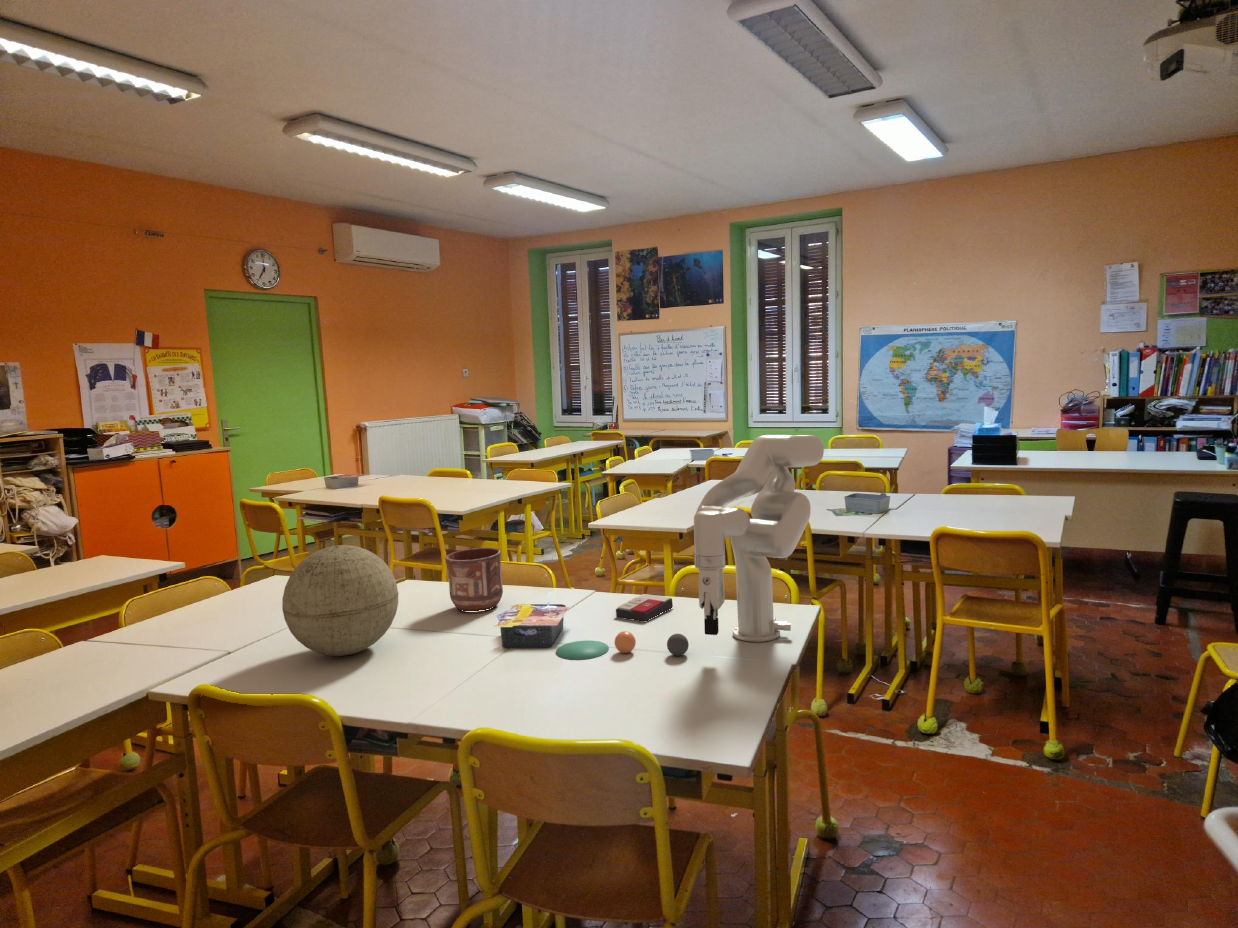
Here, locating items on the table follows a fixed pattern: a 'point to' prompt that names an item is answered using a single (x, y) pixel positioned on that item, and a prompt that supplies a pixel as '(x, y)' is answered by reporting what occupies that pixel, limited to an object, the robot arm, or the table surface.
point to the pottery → (475, 578)
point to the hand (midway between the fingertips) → (711, 633)
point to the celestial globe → (340, 600)
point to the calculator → (644, 607)
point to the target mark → (582, 650)
